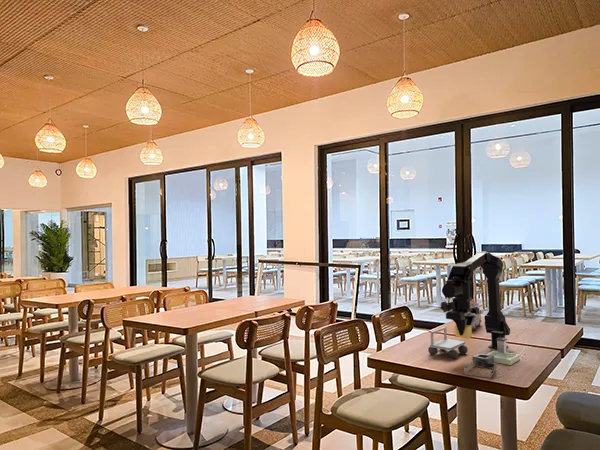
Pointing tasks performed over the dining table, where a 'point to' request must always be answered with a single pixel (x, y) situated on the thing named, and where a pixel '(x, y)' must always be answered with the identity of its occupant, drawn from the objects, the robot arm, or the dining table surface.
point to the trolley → (447, 345)
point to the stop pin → (501, 347)
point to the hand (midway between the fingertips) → (463, 334)
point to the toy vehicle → (477, 319)
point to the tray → (509, 361)
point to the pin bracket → (483, 358)
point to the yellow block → (466, 333)
